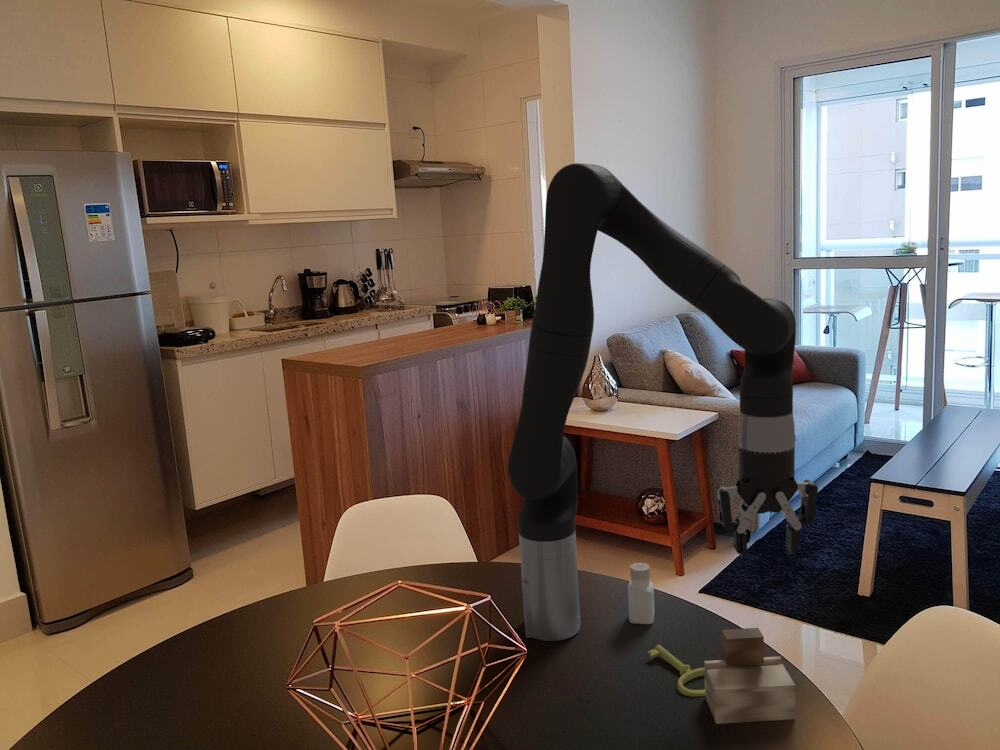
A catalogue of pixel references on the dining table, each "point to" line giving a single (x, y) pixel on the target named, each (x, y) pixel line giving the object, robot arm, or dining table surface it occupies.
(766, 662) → the stacked wooden blocks
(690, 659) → the dining table surface
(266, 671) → the dining table surface
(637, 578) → the salt shaker
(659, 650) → the key
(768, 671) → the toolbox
